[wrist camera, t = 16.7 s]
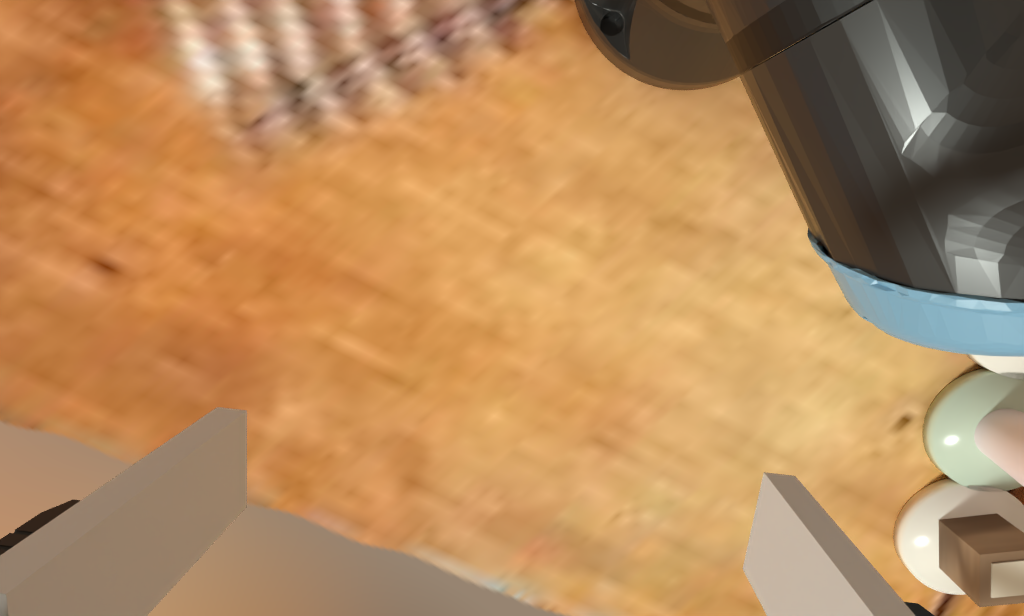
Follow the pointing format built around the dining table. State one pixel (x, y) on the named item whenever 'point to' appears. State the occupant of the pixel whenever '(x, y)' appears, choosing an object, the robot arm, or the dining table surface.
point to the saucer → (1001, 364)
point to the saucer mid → (970, 427)
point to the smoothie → (1003, 440)
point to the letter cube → (983, 558)
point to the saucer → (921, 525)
